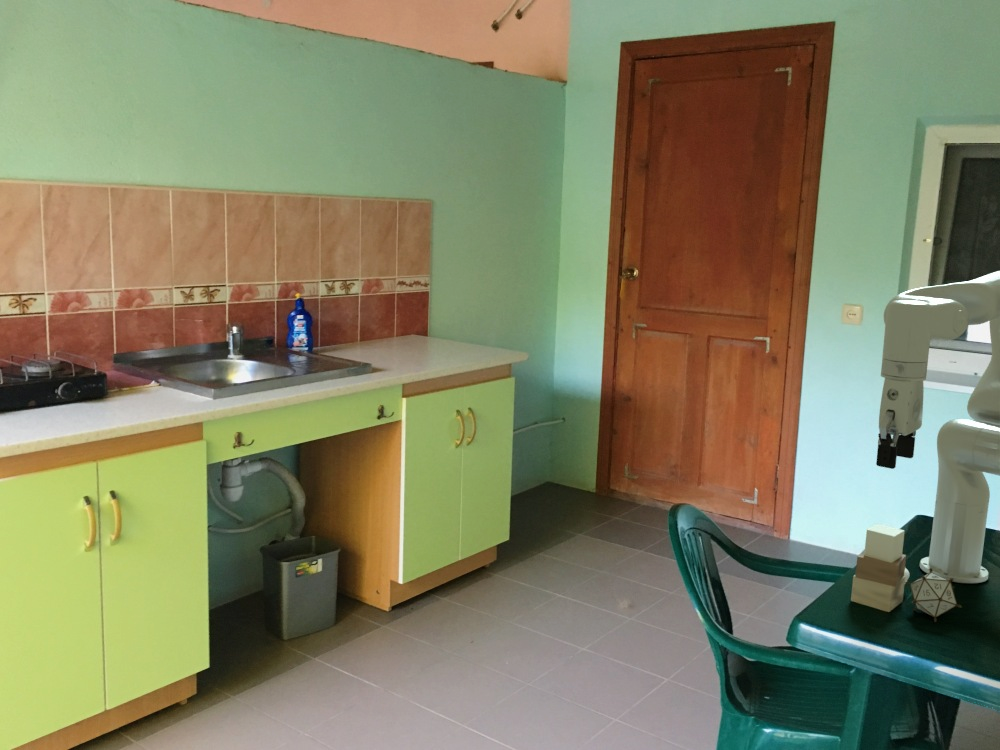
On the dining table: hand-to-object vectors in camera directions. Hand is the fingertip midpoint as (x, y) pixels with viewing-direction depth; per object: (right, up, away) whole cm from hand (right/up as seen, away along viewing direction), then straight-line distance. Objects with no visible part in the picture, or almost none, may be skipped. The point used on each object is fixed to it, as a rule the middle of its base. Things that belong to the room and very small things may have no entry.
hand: (894, 461), depth 169 cm
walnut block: (-2, -22, +3) cm, 22 cm away
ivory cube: (-1, -18, +2) cm, 18 cm away
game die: (+6, -28, -2) cm, 28 cm away
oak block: (-2, -26, +4) cm, 27 cm away
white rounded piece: (+3, -26, +9) cm, 28 cm away
